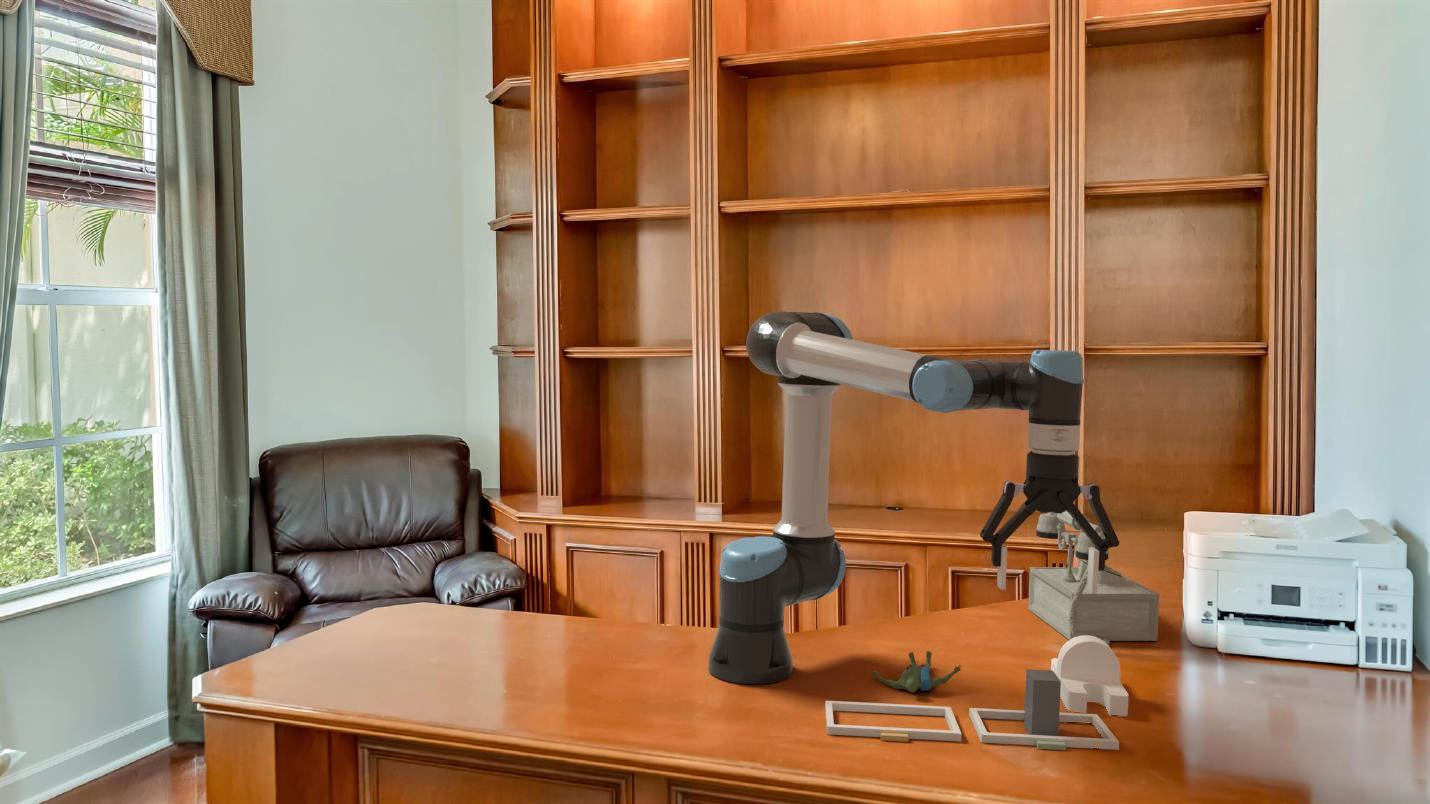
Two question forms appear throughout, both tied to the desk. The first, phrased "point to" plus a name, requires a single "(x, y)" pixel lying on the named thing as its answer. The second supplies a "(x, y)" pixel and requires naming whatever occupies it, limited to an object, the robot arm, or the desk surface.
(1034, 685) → the plug
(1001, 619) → the desk surface
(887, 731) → the socket
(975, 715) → the socket
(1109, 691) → the white slotted bracket
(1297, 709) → the desk surface
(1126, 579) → the rotary telephone
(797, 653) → the desk surface
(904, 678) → the figurine
